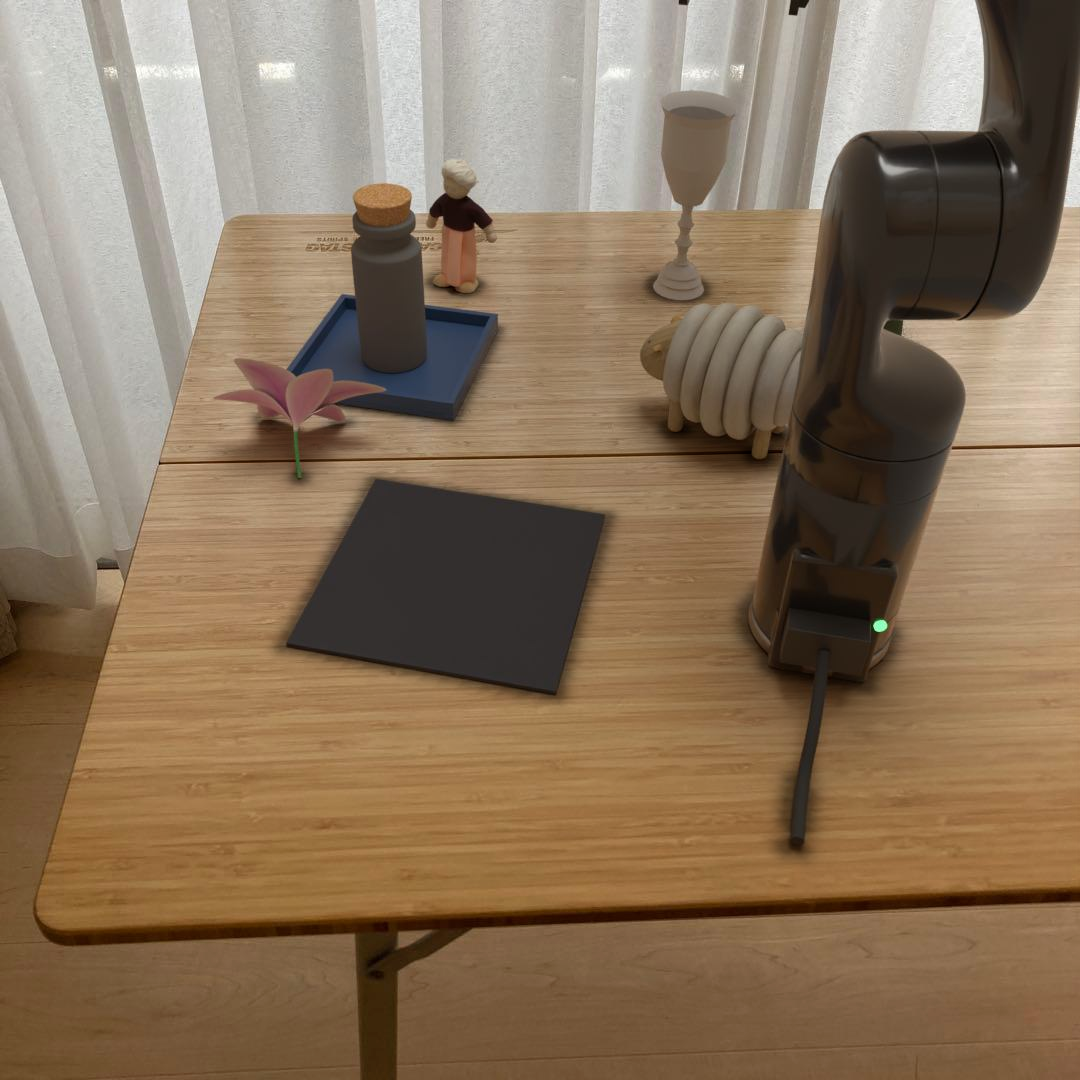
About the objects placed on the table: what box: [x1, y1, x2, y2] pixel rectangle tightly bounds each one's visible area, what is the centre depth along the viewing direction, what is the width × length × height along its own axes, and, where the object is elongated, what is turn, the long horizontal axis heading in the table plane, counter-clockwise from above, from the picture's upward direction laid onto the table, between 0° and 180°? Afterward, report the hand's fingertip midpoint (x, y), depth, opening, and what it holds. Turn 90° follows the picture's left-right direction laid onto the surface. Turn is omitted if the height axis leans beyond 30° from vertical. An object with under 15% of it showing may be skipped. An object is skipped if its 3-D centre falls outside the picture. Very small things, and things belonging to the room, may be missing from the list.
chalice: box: [652, 90, 739, 301], centre depth 105 cm, size 7×7×18 cm
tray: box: [285, 293, 499, 421], centre depth 99 cm, size 15×15×2 cm
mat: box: [285, 478, 606, 695], centre depth 78 cm, size 18×18×1 cm
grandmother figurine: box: [425, 158, 498, 294], centre depth 106 cm, size 8×4×13 cm, turn 73°
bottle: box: [350, 182, 427, 373], centre depth 94 cm, size 6×6×15 cm
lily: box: [212, 357, 387, 479], centre depth 86 cm, size 12×12×10 cm
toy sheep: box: [639, 302, 803, 460], centre depth 88 cm, size 11×17×11 cm, turn 65°
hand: (738, 7), depth 87 cm, fingers open, 8 cm apart
